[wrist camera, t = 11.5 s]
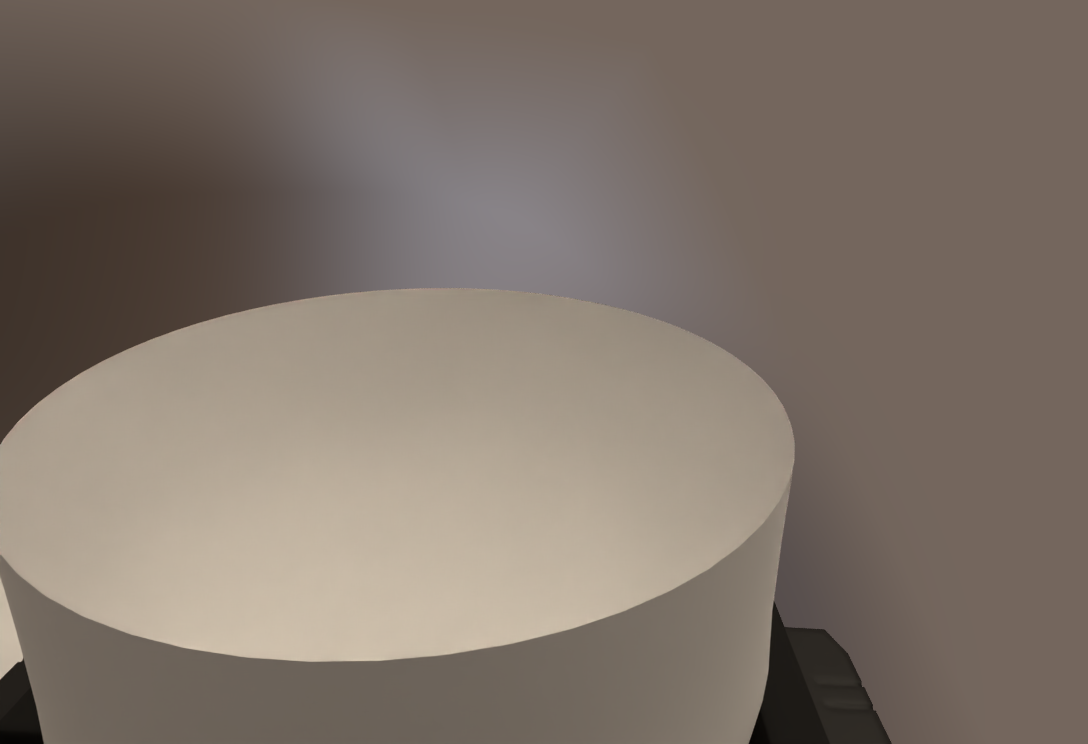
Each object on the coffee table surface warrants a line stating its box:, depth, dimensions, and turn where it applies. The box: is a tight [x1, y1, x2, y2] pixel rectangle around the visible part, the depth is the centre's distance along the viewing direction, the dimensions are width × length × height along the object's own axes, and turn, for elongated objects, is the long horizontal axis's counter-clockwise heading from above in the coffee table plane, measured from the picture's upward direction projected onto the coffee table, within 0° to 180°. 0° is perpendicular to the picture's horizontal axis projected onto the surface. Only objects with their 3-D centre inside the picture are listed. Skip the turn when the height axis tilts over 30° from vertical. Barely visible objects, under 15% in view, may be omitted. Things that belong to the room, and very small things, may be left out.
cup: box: [0, 288, 795, 744], centre depth 10 cm, size 9×9×12 cm
